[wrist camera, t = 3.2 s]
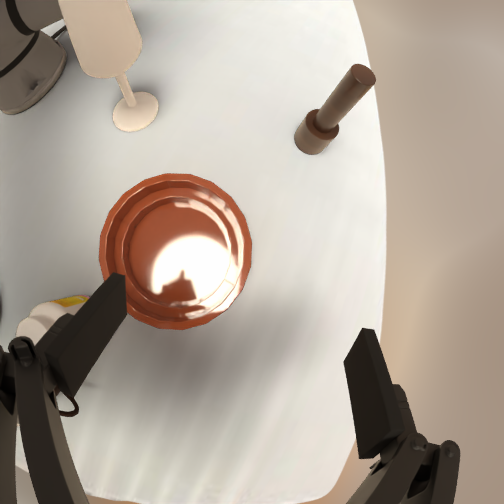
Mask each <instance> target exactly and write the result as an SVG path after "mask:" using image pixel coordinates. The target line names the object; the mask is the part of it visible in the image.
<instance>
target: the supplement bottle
mask: <svg viewBox="0 0 504 504" xmlns="http://www.w3.org/2000/svg"><path fill="white" fill-rule="evenodd" d="M89 298H90V296H87V295H76V296H72V297H67V298H63V299H59V300H54V301H50V302H45V303H41V304H39V305H37V306H36V307H35V308H34V309H33V310H32V311H31V313H30V314H29V317H28V318H26V319H24V320H22V321H21V322H20V323H19V325H18V327H17V331H16V337H19V336H26V337H29V338H30V339H31V340H32V341H33V343H34V346H35V345H36V343H37V342H38V341H39V340H40V339H41V338H42V336H43V335H44V334H45V333H46V332H47V331H48V330H49V328H50V327H51V326H52V325H53V324H54V323H55V321H56V320H57V319H58V318H59V317H61V316H62V315H64V314H66V313H70V314H72V315H75V314H76V313H77V311H78V310H79V309H80V308H81V307H82V306H83V305H84V303H85V302H86V301H87V300H88V299H89Z"/></svg>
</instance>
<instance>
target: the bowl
mask: <svg viewBox="0 0 504 504" xmlns="http://www.w3.org/2000/svg"><path fill="white" fill-rule="evenodd" d="M251 251H252V240H251V237H250V233H249V230H248V226H247V223H246V219H245V217H244V215H243V214H242V212H241V211H240V209H239V208H238V206H237V205H236V203H235V202H234V200H233V199H232V197H231V196H229V195H228V194H227V193H226V192H224V191H223V190H222V189H221V188H219V187H218V186H217V185H215V184H214V183H212V182H211V181H208V180H205V179H202V178H200V177H197V176H194V175H191V174H171V173H167V174H162V175H159V176H155V177H152V178H149V179H145V180H144V181H142V182H140V183H139V184H137V185H136V186H134V187H133V188H131V189H130V190H128V191H127V192H125V193H124V194H123V195H122V196H121V198H120V199H119V200H118V201H117V203H116V204H115V205H114V206H113V208H112V209H111V210H110V212H109V214H108V216H107V219H106V221H105V224H104V227H103V229H102V232H101V235H100V247H99V262H100V266H101V270H102V275H103V278H104V282H105V280H106V279H107V278H108V277H109V276H110V275H111V274H112V273H113V272H115V273H118V274H122V275H125V282H126V302H127V312H128V313H129V314H130V315H131V316H132V317H134V318H135V319H136V320H139V321H141V322H143V323H146V324H148V325H151V326H153V327H156V328H159V329H173V330H185V329H188V328H192V327H196V326H199V325H203V324H206V323H208V322H209V321H211V320H212V319H214V318H215V317H217V316H218V315H220V314H221V313H223V312H224V311H226V310H227V309H228V308H229V307H230V305H231V304H232V303H233V301H234V300H235V299H236V298H237V296H238V295H239V294H240V292H241V291H242V290H243V287H244V284H245V282H246V279H247V276H248V273H249V270H250V268H251Z"/></svg>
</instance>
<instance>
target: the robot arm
mask: <svg viewBox="0 0 504 504" xmlns="http://www.w3.org/2000/svg"><path fill="white" fill-rule="evenodd" d="M61 19H63V15H62V12H61V9H60V6H59V2H58V0H0V110H1V111H3V112H4V113H6V114H17V113H20V112H22V111H24V110H26V109H28V108H29V107H31V106H32V105H34V104H35V103H36V102H38V101H39V100H40V99H41V98H42V97H43V96H44V95H45V94H46V93H47V92H48V91H49V90H50V89H51V88H52V87H53V85H54V84H55V83H56V81H57V80H58V79H59V77H60V75H61V73H62V72H63V69H64V67H65V64H66V59H67V55H66V51H65V49H64V48H63V46H62V44H61V43H60V42H58V41H57V40H55V38H56V37H57V36H58V35H60V34H61V33H62V32H63V31H64V30H66V29H67V27H66V25H65V26H64V27H62V28H61V29H60V30H59V31H57V32H56V33H55V34H54V35H53V36H51V37H50V36H48V35H47V34H45V33H44V32H42V31H41V29H43V28H44V27H46V26H48V25H50V24H53V23H55V22H57V21H59V20H61ZM126 316H127V302H126V282H125V275H122V274H118V273H115V272H113V273H112V274H111V275H110V276H109V277H108V278H107V279H106V280H105V282H104V283H103V284H102V285H101V286H100V287H99V288H98V289H97V290H96V291H95V292H94V293H93V295H92V296H91V297H90V298H89V299H88V300H87V301H86V302H85V303H84V305H83V306H82V307H81V308H80V309H79V310H78V311H77V313H76V314H75V315H72V314H70V313H66V314H64V315H62V316H61V317H59V318H58V319H57V320H56V321H55V323H54V324H53V325H52V326H51V327H50V328H49V330H48V331H47V332H46V333H45V334H44V335H43V336H42V338H41V339H40V340H39V341H38V342H37V343H36V345H35V346H34V343H33V341H32V340H31V339H30V338H29V337H26V336H19V337H16V338H14V339H13V340H12V341H11V342H10V344H9V346H8V350H9V352H10V353H7V352H4V351H3V348H2V346H1V345H0V504H17V498H16V481H15V448H16V430H17V418H19V425H20V431H21V437H22V442H23V448H24V452H25V457H26V461H27V465H28V469H29V473H30V477H31V481H32V484H33V487H34V491H35V494H36V497H37V500H38V503H39V504H89V502H88V499H87V497H86V495H85V492H84V490H83V487H82V485H81V482H80V479H79V477H78V474H77V471H76V469H75V466H74V463H73V460H72V457H71V454H70V450H69V447H68V444H67V440H66V437H65V433H64V429H63V426H62V422H61V418H60V413H59V409H58V404H57V399H56V394H55V391H54V388H55V387H56V385H58V387H59V389H60V391H61V392H63V393H65V394H67V395H69V396H71V397H73V398H74V396H75V395H76V393H77V391H78V390H79V388H80V386H81V385H82V383H83V381H84V380H85V378H86V376H87V375H88V373H89V372H90V370H91V368H92V367H93V365H94V364H95V362H96V361H97V359H98V358H99V356H100V354H101V353H102V351H103V350H104V348H105V347H106V345H107V344H108V342H109V341H110V339H111V338H112V336H113V335H114V333H115V332H116V330H117V329H118V327H119V326H120V324H121V323H122V321H123V320H124V318H125V317H126ZM344 367H345V373H346V378H347V384H348V389H349V395H350V401H351V407H352V413H353V419H354V426H355V433H356V440H357V447H358V454H359V459H370V458H374V457H375V456H376V455H378V454H379V453H380V457H381V459H380V460H378V461H377V462H376V463H375V464H373V465H372V466H371V467H370V469H372V468H373V469H372V470H371V472H370V473H369V475H368V476H367V477H366V479H365V480H364V482H363V483H362V484H361V485H360V487H359V488H358V489H357V491H356V492H355V493H354V494H353V496H352V497H351V498H350V499H349V501H348V502H347V503H346V504H453V502H454V497H455V492H456V485H457V479H458V471H459V462H460V449H459V446H458V445H457V444H456V443H455V442H453V441H451V440H447V441H445V442H443V443H442V444H441V445H436V444H432V443H428V441H427V439H426V438H425V437H424V436H423V435H422V434H420V433H417V431H416V427H415V424H414V420H413V417H412V414H411V410H410V409H409V404H408V402H407V397H406V394H405V392H404V390H403V389H402V388H401V386H400V385H398V384H392V381H391V378H390V375H389V372H388V369H387V366H386V362H385V360H384V357H383V354H382V351H381V348H380V345H379V342H378V339H377V336H376V334H375V331H374V330H373V329H367V328H362V329H361V331H360V333H359V335H358V337H357V339H356V340H355V342H354V344H353V346H352V348H351V349H350V351H349V353H348V355H347V356H346V358H345V360H344Z"/></svg>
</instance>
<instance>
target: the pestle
mask: <svg viewBox="0 0 504 504" xmlns="http://www.w3.org/2000/svg"><path fill="white" fill-rule="evenodd" d="M375 82H376V78H375V75H374V74H373V72H372V71H371V70H370V69H369V68H368V67H366V66H364V65H361V64H354V65H353V66H352V67H351V68H350V69H349V71H348V72H347V73H346V75H345V76H344V77H343V79H342V80H341V81H340V83H339V84H338V85H337V87H336V88H335V90H334V91H333V92H332V94H331V95H330V96H329V98H328V99H327V100H326V102H325V103H324V105H323V106H322V107H321V109H315V110H312V111H310V112H309V113H308V114H307V115H306V117H305V118H304V120H303V121H302V123H301V125H300V126H299V128H298V129H297V131H296V132H295V136H294V139H295V143H296V145H297V147H298V148H299V149H300V150H301V151H303V152H304V153H307V154H311V155H314V154H318V153H320V152H321V151H322V150H323V149H324V148H325V147H326V146H327V145H328V144H329V143H330V142H331V141H332V140H333V139H334V138H335V137H336V136H337V135H338V132H339V125H338V123H339V122H340V121H341V120H342V118H343V117H344V116H345V115H346V114H347V113H348V112H349V111H350V110H351V109H352V108H353V107H354V105H355V104H356V103H357V102H358V101H359V100H360V99H361V98H362V97H363V96H364V95H365V94H366V93H367V91H368V90H369V89H370V88H371V87H372V86H373V85H374V84H375Z"/></svg>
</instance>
